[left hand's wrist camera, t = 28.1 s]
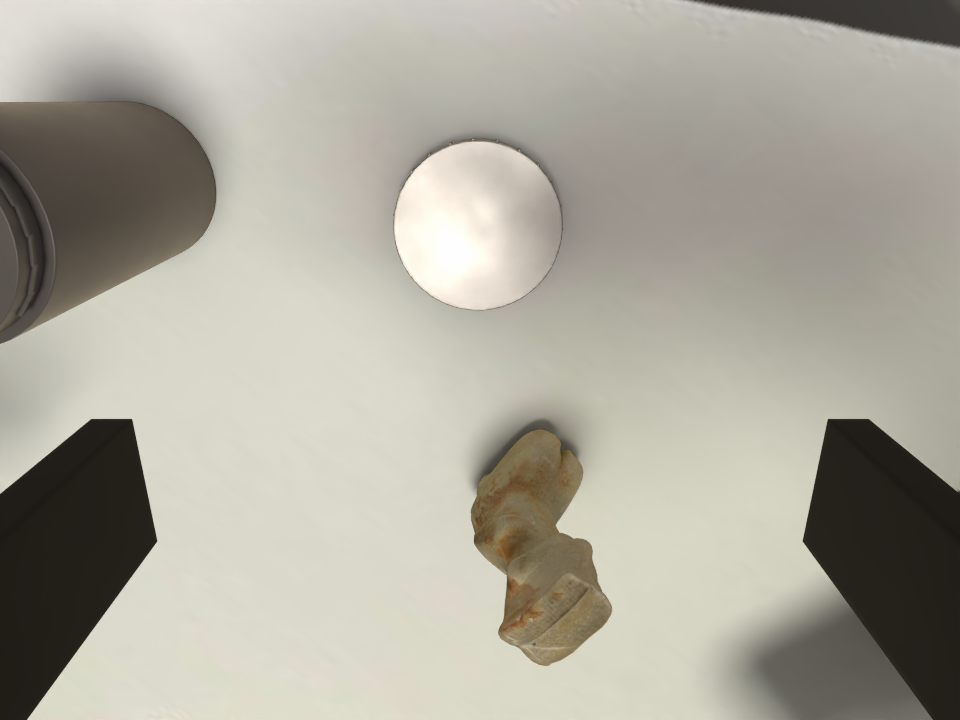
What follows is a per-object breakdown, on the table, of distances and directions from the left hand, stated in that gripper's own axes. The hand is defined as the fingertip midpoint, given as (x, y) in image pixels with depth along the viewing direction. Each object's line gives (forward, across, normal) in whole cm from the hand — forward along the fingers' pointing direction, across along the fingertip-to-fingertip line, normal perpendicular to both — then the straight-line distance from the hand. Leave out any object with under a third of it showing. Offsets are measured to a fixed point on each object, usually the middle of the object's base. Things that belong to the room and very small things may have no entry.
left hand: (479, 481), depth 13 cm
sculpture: (+28, -3, +16) cm, 32 cm away
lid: (+26, 0, 0) cm, 27 cm away
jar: (+28, +19, -2) cm, 34 cm away
